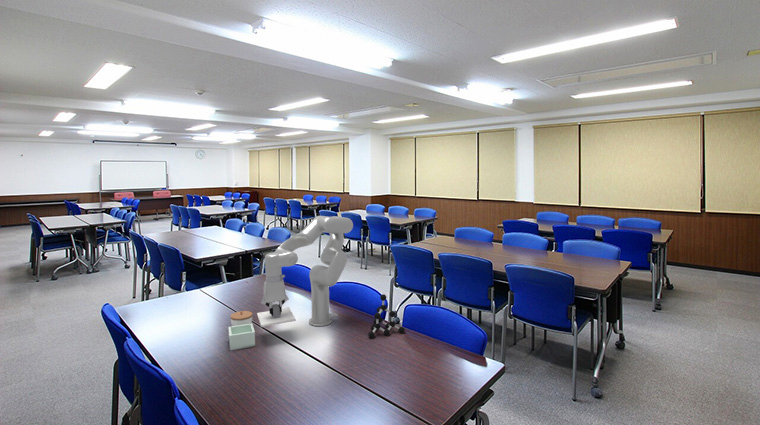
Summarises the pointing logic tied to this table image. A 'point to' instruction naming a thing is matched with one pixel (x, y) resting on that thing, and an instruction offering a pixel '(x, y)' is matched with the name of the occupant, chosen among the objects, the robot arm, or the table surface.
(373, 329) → the molecular model
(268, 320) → the lid
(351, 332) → the table surface
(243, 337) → the pale green open bin
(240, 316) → the lidded jar
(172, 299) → the table surface
